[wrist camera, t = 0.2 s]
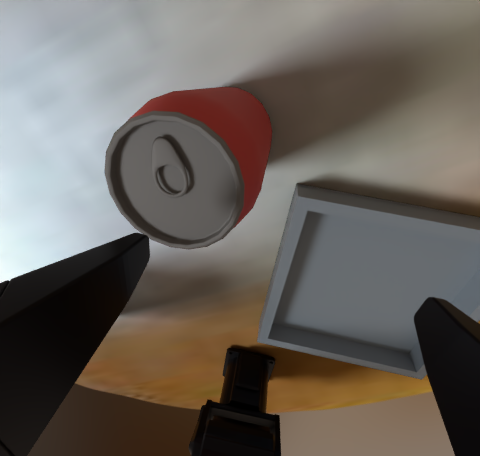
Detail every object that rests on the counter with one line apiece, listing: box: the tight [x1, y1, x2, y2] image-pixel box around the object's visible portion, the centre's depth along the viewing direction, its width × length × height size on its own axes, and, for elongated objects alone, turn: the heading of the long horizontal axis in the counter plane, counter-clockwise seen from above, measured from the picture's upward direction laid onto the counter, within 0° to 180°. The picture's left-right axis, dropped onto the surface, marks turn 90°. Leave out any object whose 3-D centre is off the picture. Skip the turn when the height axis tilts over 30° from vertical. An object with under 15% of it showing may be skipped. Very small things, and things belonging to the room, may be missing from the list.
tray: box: [257, 184, 480, 379], centre depth 24 cm, size 18×18×3 cm
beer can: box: [105, 87, 272, 249], centre depth 15 cm, size 7×7×12 cm
